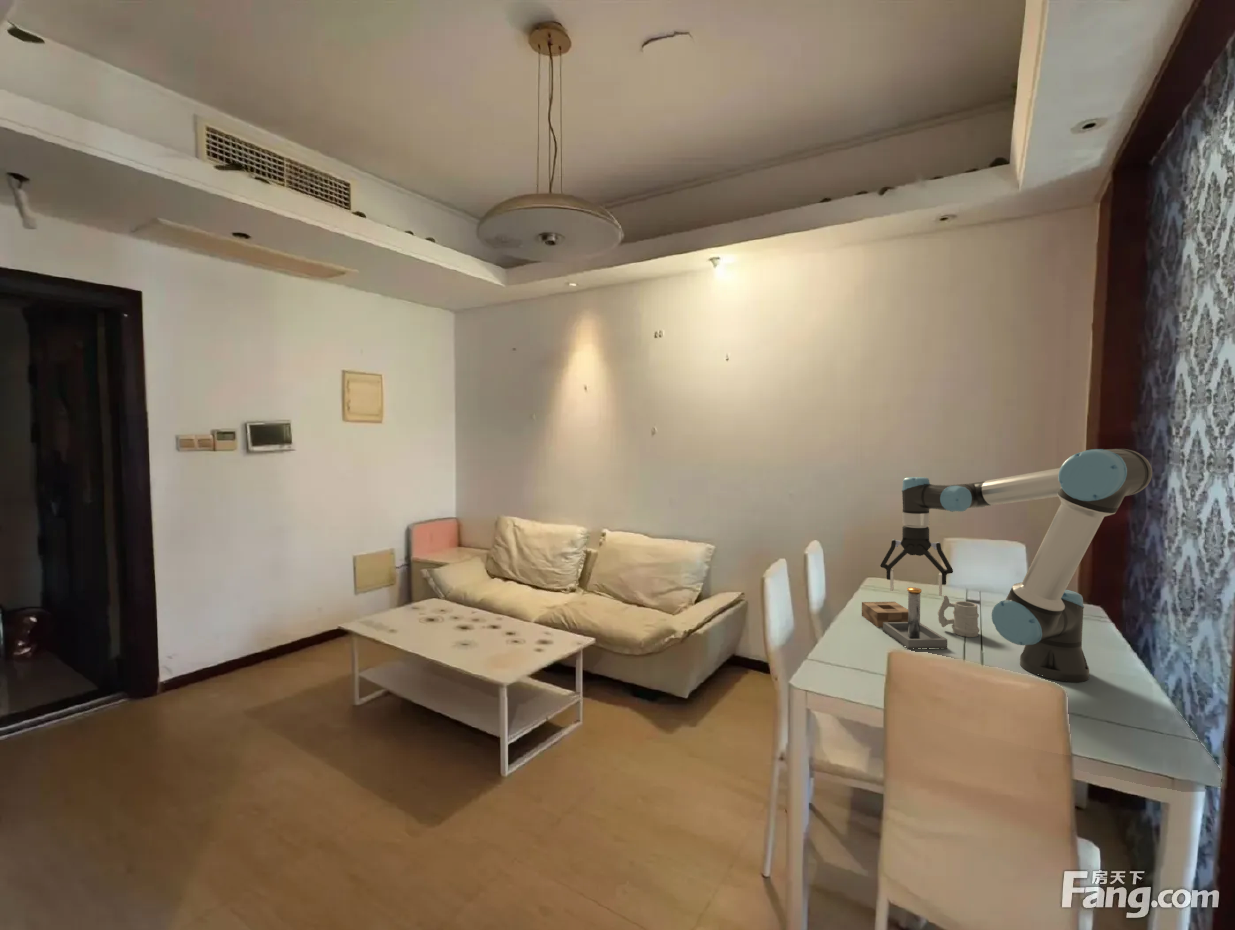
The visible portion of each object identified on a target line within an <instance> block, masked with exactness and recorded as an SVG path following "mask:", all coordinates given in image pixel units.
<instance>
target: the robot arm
mask: <svg viewBox="0 0 1235 930" xmlns="http://www.w3.org/2000/svg"><path fill="white" fill-rule="evenodd" d="M1152 477H1153V468H1152V465H1151V464H1150V462H1149V460H1148V459H1147V458H1146V457H1145V456H1144V455H1142V454H1141V453H1139V452H1137V451H1135V450H1132V449H1126V448H1109V449H1104V448H1094V449H1087V450H1083V451H1080V452H1077V453H1075V454H1072V455H1071V456H1069V457H1068V458H1067V459H1065V460H1064V461H1063V463H1062V464H1061V466H1060V467H1058V468H1052V469H1046V470H1041V471H1034V472H1029V473H1024V474H1017V475H1012V476H1006V477H1000V478H995V479H988V480H983V481H978V482H977V481H976V482H969V483H961V484H958V483H957V484H946V485H945V484H931V482H930V479H929V477H923V476H909V477H908V476H907V477H905V478H904V479H902V488H901V489H902V490H901V495H902V496H901V497H902V514H901V516H902V518H901V519H902V520H901V521H902V525H903V526H902V534H901V535H902V536H901V537H902V539H901V540H899V539H898V540H897V539H895V538H893V539H892V540H891V543H890V544H891V545H890V547H889V549H888V551H887V553H886V555H885V556H884V558H883V560H882V561H881V563H880V565H879V566H880V567H881V568H882V569H885V570H886V580H887V581H888V580H889V584H890V586H889V587H890V592H894V584H895V583H894V582H895V581H894V568H893V567H894V566H896V564H897V563H899V562H900V561H901V560H902V559H903V558H904V557H905V556H906V555H910V556H918V557H921V556H925V557H926V558H927V559H928V560H929V562H930V563H932V565H933V566H934V567H935V568H936V569H937V570H938V571H939V573H938V596H941V597H942V596H943V586H946V585H947V575H949V574H953V572H954V569H953V567H952V566H951V564H950V562H949V560H948V559H947V557H946V555H945V553H944V551H943V550H942V545H941V542H940V541H936V542H931V541H930V527H929V525H930V510H931V509H932V510H940V511H941V510H942V511H948V512H952V513H953V512H960V513H961V512H962V513H963V512H965V511H967V509H973V508H975V509H976V508H985V507H989V506H990V507H991V506H995V505H1003V504H1004V505H1005V504H1011V503H1019V502H1026V501H1035V500H1042V499H1049V498H1057V497H1058V499H1059V501H1060V505H1059V506H1058V508H1057V511H1056V513H1055V515H1054V517H1053V519H1052V521H1051V524H1050V525H1049V527H1048V529H1047V531H1046V533H1045V535H1044V537H1043V539H1042V542H1041V543H1040V546H1039V547H1038V550H1037V552H1036V554H1035V556H1034V558H1032V559H1033V560H1032V562H1031V564H1030V566H1029V568H1028V570H1027V572H1026V574H1025V576H1024V578H1023V579H1022V582H1017V583H1014V584H1012V585H1011V588H1010V591H1009V592H1008V594H1007V596H1006V598H1005V599H1004V600H1000V601H999V602H997V603H996V604H995V605H994V607H993V608H992V611H991V621H992V623H993V625H994V627H995V630H996V632H998V634H999V635H1000V636H1001V637H1002V638H1004V639H1005V640H1006V641H1008V642H1010V643H1012V644H1015V645H1018V646H1024V648H1023V650H1022V652H1021V654H1020V656H1019V664H1020V667H1021V668H1022V669H1023V670H1025V671H1027V670H1028V671H1027V672H1029V673H1031V674H1033V675H1036V674H1039V675H1040V676H1039V675H1038V676H1039V677H1043V678H1046V679H1050V680H1054V681H1060V682H1069V683H1079V682H1086V681H1088V680H1089V679H1090V667H1089V665H1088V662H1087V658H1086V657H1085V653H1084V650H1083V647H1082V646H1083V628H1084V627H1083V626H1084V625H1083V624H1084V608H1085V606H1084V598H1083V595H1082V594H1080V593H1079V592H1076V591H1073V590H1069V589H1067V588H1068V586H1069V584H1070V582H1071V580H1072V579H1073V577H1074V575H1075V573H1076V571H1077V569H1078V568H1079V565H1080V564H1081V561H1082V559H1083V558H1084V556H1085V554H1086V552H1087V550H1088V548H1089V546H1090V544H1091V542H1092V541H1093V539H1094V537H1095V535H1096V533H1097V531H1098V530H1099V528H1100V527H1101V526H1100V525H1101V524H1102V522H1103V520H1104V518H1105V517H1108V516H1113V515H1115V514H1116V513H1117V511H1118V510H1119V508H1120V506H1121V504H1122V502H1123V500H1124V498H1125V497H1128V496H1132V495H1136V494H1137V493H1140V492H1141V491H1143V490H1145V488H1146V487H1148V485H1149V484H1150V482H1151V480H1152ZM899 545H901V547H902V548H903V549H902V551H900V553H899V554H897V556H895V557H894V558H893V560H891V561H890V562H889V564H887V563H888V561H889V560H890V557H891V556H892V554H893V553H894V551H895V548H897V547H899ZM931 547H932V548H933V549H934V550H935V551H937V554H938V556H939V557H940V559H941V561H942V563H943V564H944V566H945V567H943V566H942V565H941V563H940V562H939V561H937V559H936V558H935V557H934V556H933V554H931V552H930V551H929V549H930V548H931ZM1041 675H1043V676H1041Z"/></svg>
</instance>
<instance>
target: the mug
mask: <svg viewBox="0 0 1235 930" xmlns="http://www.w3.org/2000/svg"><path fill="white" fill-rule="evenodd" d="M949 607H950V608H954V609H953V611H952V614H953V618H948V619H947V618H946V617H945V611H946V610H947V609H948V608H949ZM937 615H938V618H937V619H938V622H939V624H940V625H941V627H942V628H945V627H946V626H948V625H951V629H952V632H953V634H954V635H957V636H960V637H967V638H976V637H978V636H979V632H980V628H979V625H978V624H979V623H978V622H979V619H978V618H979V617H980V614H979V612H978V605H977V604H976V603H974V602H970V601H963V600H961V601H959V600H958V601H954V602H950V599H949V597H948V596H947V595H946V594H944V595H943V600H942V602H941V605H940V607H939V609H938V611H937Z"/></svg>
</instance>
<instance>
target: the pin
mask: <svg viewBox="0 0 1235 930" xmlns="http://www.w3.org/2000/svg"><path fill="white" fill-rule="evenodd" d="M906 589H907V590H906V591H907V594H908V595H907V597H908V598H907V600H908V601H907V606H908V607H907V609H908V637H909V638H911V639H920V623H921V593H922V588H919V587H911V586H910V587H907V588H906Z"/></svg>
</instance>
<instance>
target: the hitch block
mask: <svg viewBox="0 0 1235 930" xmlns="http://www.w3.org/2000/svg"><path fill="white" fill-rule="evenodd" d="M861 617H863V618H864V619H866V620H867V621H868V622H870V623H871V624H873V626H875V627H877V628H883V622H908V608H906V607H904V606H903V605H901V604H900V603H898V602H896V601H861Z"/></svg>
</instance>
